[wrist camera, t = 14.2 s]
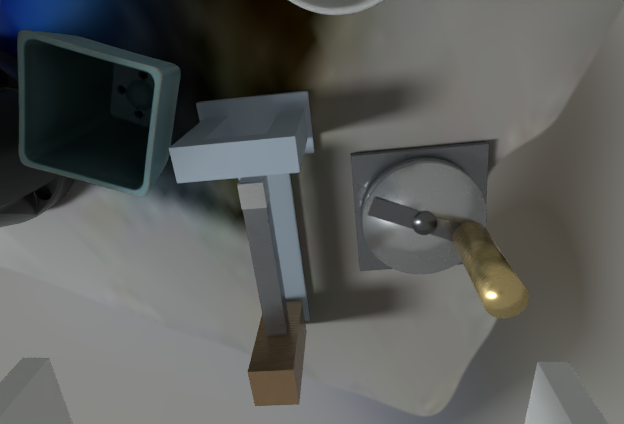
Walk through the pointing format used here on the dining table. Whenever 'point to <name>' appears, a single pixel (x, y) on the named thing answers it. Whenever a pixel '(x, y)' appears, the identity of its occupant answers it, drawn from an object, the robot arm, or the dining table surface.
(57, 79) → the flower pot
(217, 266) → the dining table surface
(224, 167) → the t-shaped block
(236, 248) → the dining table surface
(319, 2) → the teacup
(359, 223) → the wheel stand
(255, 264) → the post in wooden base
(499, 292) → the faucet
